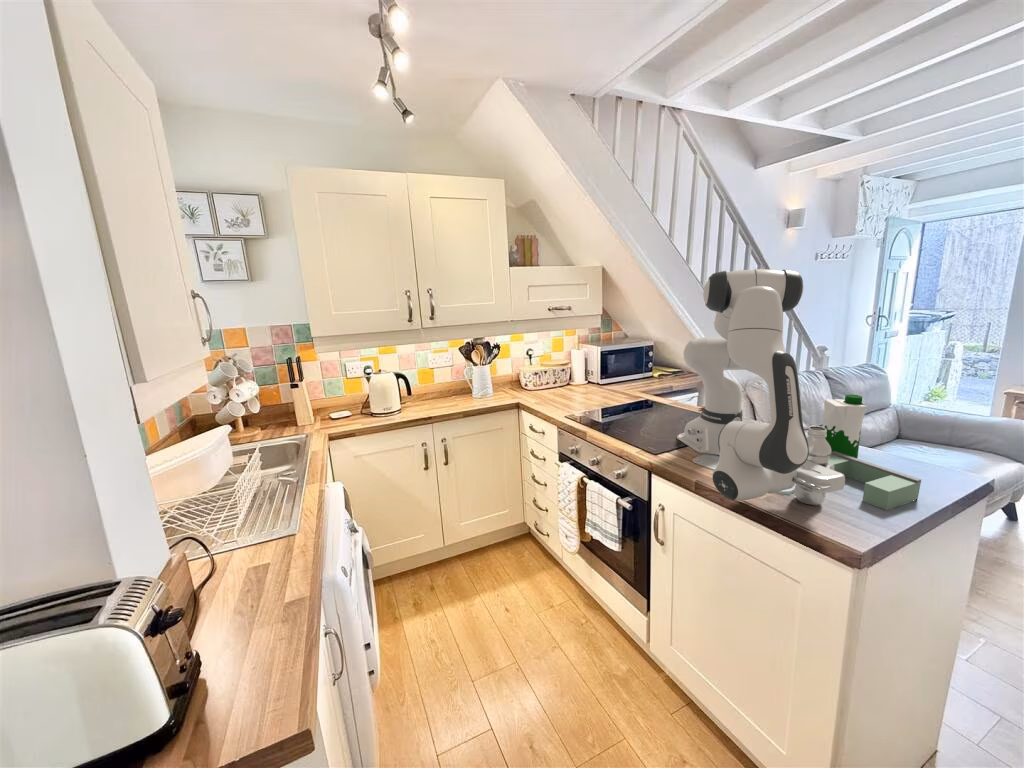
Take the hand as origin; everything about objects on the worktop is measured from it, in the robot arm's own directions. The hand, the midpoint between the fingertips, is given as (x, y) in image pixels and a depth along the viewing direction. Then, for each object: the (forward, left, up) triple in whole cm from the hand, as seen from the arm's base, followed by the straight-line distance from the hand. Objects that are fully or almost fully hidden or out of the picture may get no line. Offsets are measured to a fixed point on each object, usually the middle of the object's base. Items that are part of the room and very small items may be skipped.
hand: (815, 461), depth 99 cm
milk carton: (-15, +33, -11) cm, 38 cm away
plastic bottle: (0, -1, -11) cm, 11 cm away
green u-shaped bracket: (0, +17, -11) cm, 20 cm away
